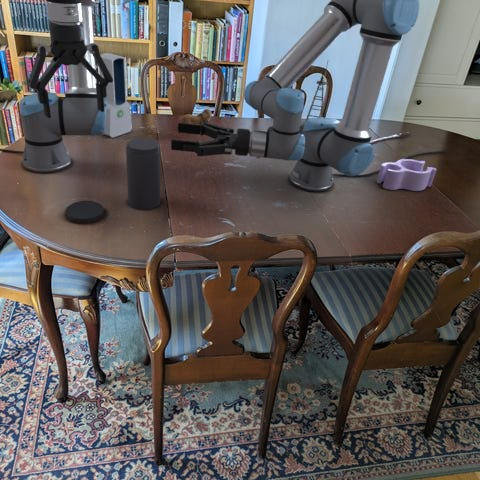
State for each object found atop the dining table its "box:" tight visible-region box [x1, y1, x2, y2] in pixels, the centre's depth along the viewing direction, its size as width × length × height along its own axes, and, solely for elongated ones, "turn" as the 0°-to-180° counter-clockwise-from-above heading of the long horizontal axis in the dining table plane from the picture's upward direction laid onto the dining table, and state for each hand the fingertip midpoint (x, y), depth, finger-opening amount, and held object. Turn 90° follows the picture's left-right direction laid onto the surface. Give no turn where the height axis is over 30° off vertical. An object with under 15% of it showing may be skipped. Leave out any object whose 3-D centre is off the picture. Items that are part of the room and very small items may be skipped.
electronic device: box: [99, 52, 133, 139], centre depth 181 cm, size 12×8×30 cm, turn 148°
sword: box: [370, 133, 409, 145], centre depth 213 cm, size 31×3×1 cm, turn 126°
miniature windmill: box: [305, 61, 329, 122], centre depth 210 cm, size 9×8×30 cm
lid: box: [64, 200, 105, 225], centre depth 134 cm, size 11×11×2 cm
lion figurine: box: [180, 108, 213, 125], centre depth 197 cm, size 15×5×9 cm, turn 110°
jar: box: [125, 137, 161, 211], centre depth 139 cm, size 10×10×19 cm
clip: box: [376, 158, 437, 192], centre depth 171 cm, size 20×12×7 cm, turn 109°
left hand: (75, 113), depth 119 cm, fingers open, 13 cm apart
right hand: (174, 135), depth 132 cm, fingers open, 13 cm apart
